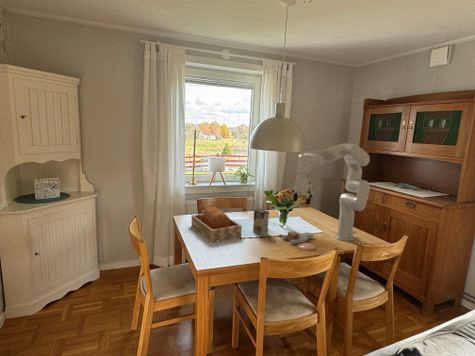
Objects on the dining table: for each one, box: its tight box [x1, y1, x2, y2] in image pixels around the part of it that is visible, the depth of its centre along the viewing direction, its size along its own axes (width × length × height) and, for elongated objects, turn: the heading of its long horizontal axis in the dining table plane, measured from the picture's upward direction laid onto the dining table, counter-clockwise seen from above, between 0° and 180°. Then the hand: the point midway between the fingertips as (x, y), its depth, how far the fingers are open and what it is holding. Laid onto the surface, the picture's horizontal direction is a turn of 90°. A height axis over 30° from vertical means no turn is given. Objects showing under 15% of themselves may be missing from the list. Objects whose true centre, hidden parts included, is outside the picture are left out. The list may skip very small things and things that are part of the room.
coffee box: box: [252, 208, 270, 236], centre depth 200 cm, size 9×6×16 cm
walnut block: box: [286, 230, 301, 242], centre depth 188 cm, size 6×6×6 cm
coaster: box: [297, 242, 316, 252], centre depth 179 cm, size 11×11×1 cm
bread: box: [202, 206, 230, 230], centre depth 200 cm, size 14×26×16 cm, turn 24°
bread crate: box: [191, 213, 243, 243], centre depth 200 cm, size 22×34×8 cm, turn 31°
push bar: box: [299, 231, 314, 240], centre depth 193 cm, size 12×5×3 cm, turn 121°
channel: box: [282, 234, 309, 245], centre depth 189 cm, size 14×9×2 cm, turn 121°
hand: (301, 202), depth 172 cm, fingers open, 9 cm apart
